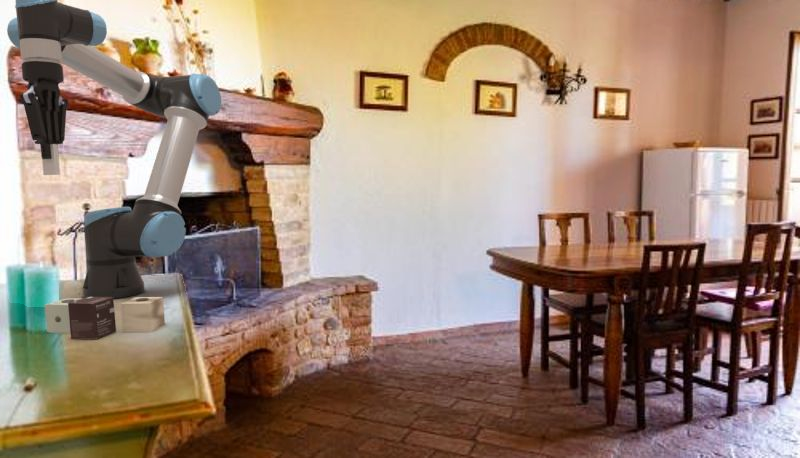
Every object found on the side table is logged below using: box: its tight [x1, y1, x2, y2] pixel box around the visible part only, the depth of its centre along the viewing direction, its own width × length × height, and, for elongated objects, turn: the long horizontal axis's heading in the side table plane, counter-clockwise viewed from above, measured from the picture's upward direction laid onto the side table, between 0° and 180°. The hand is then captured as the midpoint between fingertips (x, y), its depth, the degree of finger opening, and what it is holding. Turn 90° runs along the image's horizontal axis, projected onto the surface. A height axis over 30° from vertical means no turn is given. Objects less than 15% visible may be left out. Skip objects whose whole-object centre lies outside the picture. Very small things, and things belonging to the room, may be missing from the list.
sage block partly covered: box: [44, 297, 81, 335], centre depth 126 cm, size 6×6×6 cm
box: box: [68, 297, 117, 340], centre depth 121 cm, size 6×6×7 cm
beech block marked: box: [120, 296, 166, 333], centre depth 125 cm, size 6×6×6 cm
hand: (51, 174), depth 130 cm, fingers closed
